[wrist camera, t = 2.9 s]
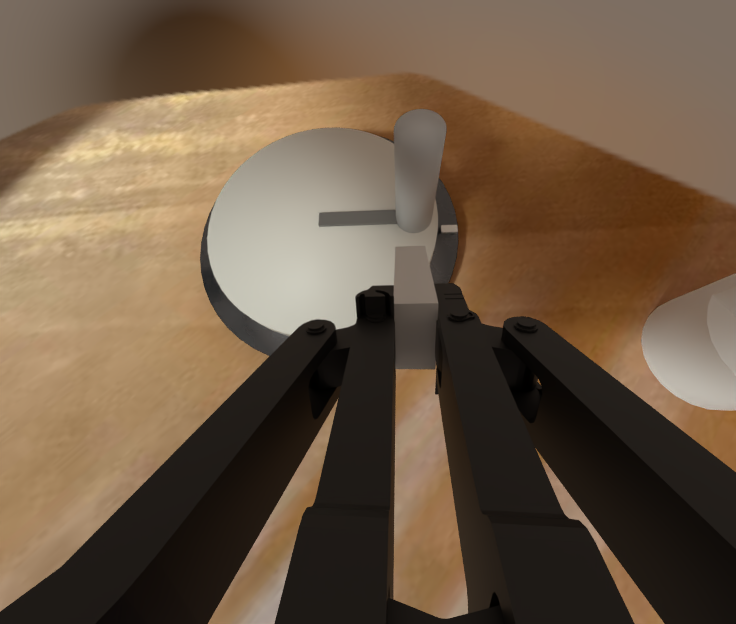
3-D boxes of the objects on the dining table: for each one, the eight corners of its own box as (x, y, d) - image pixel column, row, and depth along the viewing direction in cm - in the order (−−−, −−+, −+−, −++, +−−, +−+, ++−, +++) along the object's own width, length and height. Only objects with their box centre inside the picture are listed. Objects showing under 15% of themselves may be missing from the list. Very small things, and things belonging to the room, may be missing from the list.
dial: (203, 340, 28) (87, 298, 18) (234, 149, 34) (160, 33, 24) (441, 339, 26) (467, 291, 16) (431, 138, 32) (446, 6, 22)
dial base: (161, 293, 32) (147, 286, 30) (292, 114, 37) (287, 99, 35) (378, 420, 27) (377, 420, 25) (497, 190, 32) (502, 178, 30)
